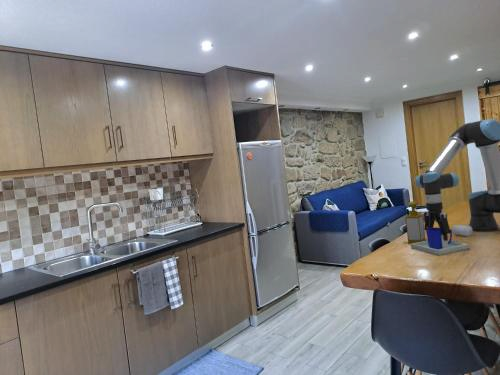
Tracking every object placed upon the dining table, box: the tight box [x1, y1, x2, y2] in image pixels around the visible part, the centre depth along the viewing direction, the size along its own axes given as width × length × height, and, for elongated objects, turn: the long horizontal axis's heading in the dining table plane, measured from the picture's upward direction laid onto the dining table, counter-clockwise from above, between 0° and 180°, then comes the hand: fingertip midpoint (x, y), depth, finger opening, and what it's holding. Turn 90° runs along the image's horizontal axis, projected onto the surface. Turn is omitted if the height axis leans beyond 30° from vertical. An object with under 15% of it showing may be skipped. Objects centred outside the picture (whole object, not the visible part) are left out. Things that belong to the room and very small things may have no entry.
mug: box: [425, 227, 453, 249], centre depth 187 cm, size 8×12×10 cm
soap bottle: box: [404, 201, 427, 245], centre depth 209 cm, size 7×13×24 cm, turn 137°
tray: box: [410, 239, 470, 256], centre depth 188 cm, size 18×20×3 cm
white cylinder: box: [452, 224, 474, 237], centre depth 210 cm, size 6×6×8 cm
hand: (438, 245), depth 188 cm, fingers open, 8 cm apart
